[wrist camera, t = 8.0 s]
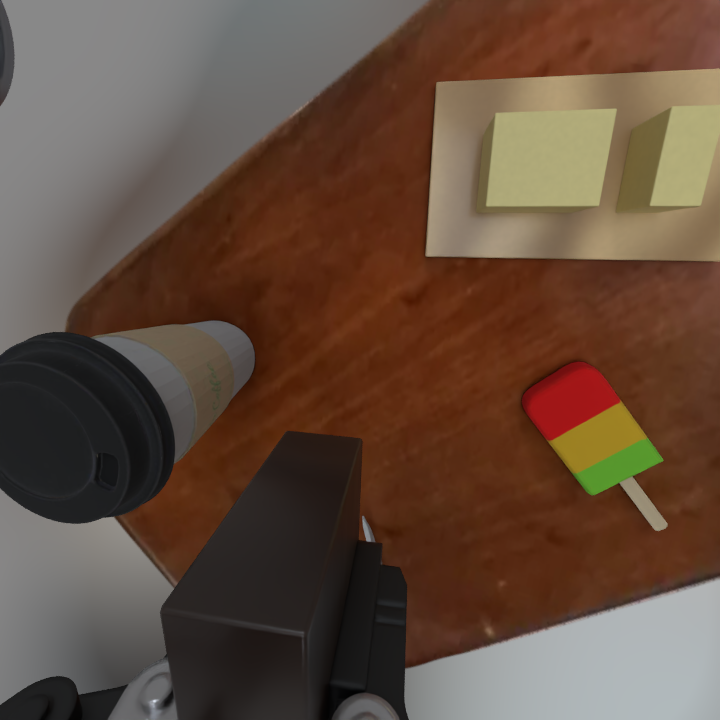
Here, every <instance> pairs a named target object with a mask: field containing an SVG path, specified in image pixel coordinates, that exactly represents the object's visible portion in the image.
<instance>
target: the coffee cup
mask: <svg viewBox="0 0 720 720" xmlns="http://www.w3.org/2000/svg"><path fill="white" fill-rule="evenodd" d="M254 364H255V352H254V348H253V345H252V343H251V341H250V339H249V338H248V337H247V335H246V334H245V333H244V332H243V331H242V330H240V329H239V328H237V327H236V326H234V325H232V324H229V323H227V322H222V321H206V322H199V323H193V324H186V325H177V324H171V325H164V326H158V327H151V328H144V329H137V330H131V331H124V332H117V333H110V334H104V335H98V336H94V337H91V338H90V337H87V336H83V335H79V334H74V333H66V332H52V333H45V334H41V335H37V336H34V337H32V338H30V339H28V340H26V341H24V342H21V343H19V344H16V345H14V346H13V347H11V348H9V349H8V350H6V351H5V352H4V353H3V354H1V355H0V488H1V489H2V490H3V491H4V492H5V493H6V494H7V495H8V496H9V497H11V498H12V499H13V500H14V501H16V502H17V503H18V504H20V505H21V506H23V507H24V508H26V509H28V510H30V511H31V512H34V513H35V514H38V515H40V516H42V517H45V518H47V519H51V520H54V521H58V522H63V523H72V524H74V523H75V524H80V523H88V522H92V521H95V520H99V519H101V518H104V517H105V518H106V517H114V516H119V515H122V514H126V513H128V512H130V511H133V510H134V509H136V508H138V507H139V506H140V505H142V504H144V503H146V502H147V501H149V500H151V499H152V498H153V497H155V496H156V495H157V494H158V493H159V492H160V491H161V489H162V488H163V487H164V486H165V484H166V482H167V481H168V479H169V477H170V474H171V472H172V469H173V465H174V464H175V463H176V462H177V461H179V460H180V459H182V458H183V457H184V455H185V454H186V453H187V452H188V451H189V450H190V449H191V448H192V446H193V445H194V444H195V443H196V442H197V441H198V440H199V438H200V437H201V436H202V435H203V434H204V433H205V432H206V431H207V429H208V428H209V427H210V426H211V425H212V424H213V423H214V421H215V420H216V419H217V418H218V417H219V416H220V415H221V414H222V412H223V411H224V410H225V409H226V407H227V406H228V404H229V402H230V400H231V399H232V398H233V397H234V396H235V395H236V393H237V392H238V391H239V390H240V389H241V388H242V387H243V386H244V384H245V383H246V382H247V381H248V380H249V378H250V376H251V374H252V372H253V369H254Z"/></svg>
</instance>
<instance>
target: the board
mask: <svg viewBox="0 0 720 720" xmlns="http://www.w3.org/2000/svg"><path fill="white" fill-rule="evenodd" d="M698 105H720V69H701V70H680V71H659V72H638V73H617V74H596V75H575V76H554V77H533V78H512V79H491V80H470V81H449V82H437V83H436V89H435V105H434V122H433V138H432V154H431V170H430V186H429V202H428V218H427V234H426V251H425V256H426V257H470V258H531V259H592V260H653V261H715V262H720V134H719V138H718V142H717V145H716V149H715V153H714V157H713V161H712V165H711V168H710V172H709V176H708V180H707V184H706V188H705V191H704V195H703V199H702V203H701V206H699V207H693V208H686V209H680V210H673V211H666V212H660V213H616V208H617V203H618V198H619V193H620V188H621V183H622V178H623V173H624V168H625V163H626V158H627V153H628V148H629V143H630V138H631V133H632V129H633V128H635V127H636V126H638V125H640V124H642V123H644V122H645V121H647V120H649V119H651V118H653V117H654V116H656V115H658V114H660V113H661V112H663V111H665V110H667V109H669V108H670V107H672V106H698ZM589 109H617V112H616V117H615V123H614V128H613V133H612V139H611V144H610V150H609V155H608V160H607V166H606V171H605V176H604V182H603V187H602V192H601V198H600V203H599V206H598V207H594V208H590V209H586V210H581V211H577V212H573V213H477V212H476V208H477V198H478V187H479V177H480V167H481V156H482V146H483V136H484V132H485V131H486V129H487V127H488V125H489V124H490V122H491V120H492V118H493V117H494V115H495V113H505V112H533V111H561V110H589Z"/></svg>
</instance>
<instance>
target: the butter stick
mask: <svg viewBox="0 0 720 720" xmlns="http://www.w3.org/2000/svg"><path fill="white" fill-rule="evenodd" d="M616 112H617V109H589V110H561V111H533V112H505V113H495V115H494V117H493V118H492V120H491V122H490V124H489V125H488V127H487V129H486V131H485V132H484V136H483V146H482V156H481V167H480V177H479V187H478V198H477V208H476V212H477V213H573V212H577V211H581V210H586V209H590V208H594V207H598V206H599V203H600V198H601V192H602V187H603V182H604V176H605V171H606V166H607V160H608V155H609V150H610V144H611V139H612V133H613V128H614V123H615V117H616Z"/></svg>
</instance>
